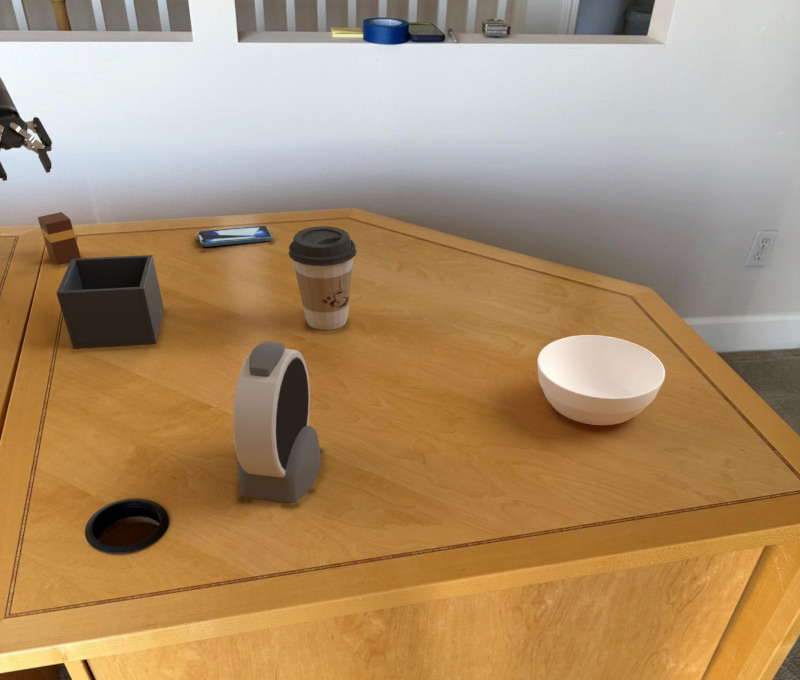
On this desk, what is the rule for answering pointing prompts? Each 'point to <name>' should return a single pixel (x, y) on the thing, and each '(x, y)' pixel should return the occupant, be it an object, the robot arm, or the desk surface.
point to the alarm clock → (274, 425)
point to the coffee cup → (324, 274)
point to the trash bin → (111, 301)
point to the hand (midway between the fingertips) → (27, 174)
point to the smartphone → (234, 235)
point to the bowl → (599, 378)
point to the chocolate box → (59, 237)
